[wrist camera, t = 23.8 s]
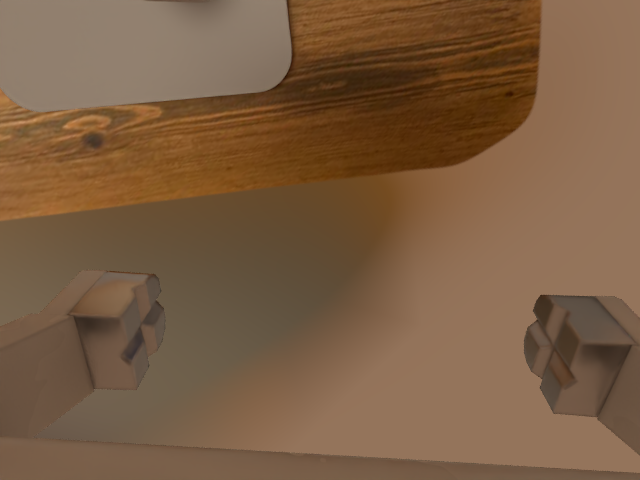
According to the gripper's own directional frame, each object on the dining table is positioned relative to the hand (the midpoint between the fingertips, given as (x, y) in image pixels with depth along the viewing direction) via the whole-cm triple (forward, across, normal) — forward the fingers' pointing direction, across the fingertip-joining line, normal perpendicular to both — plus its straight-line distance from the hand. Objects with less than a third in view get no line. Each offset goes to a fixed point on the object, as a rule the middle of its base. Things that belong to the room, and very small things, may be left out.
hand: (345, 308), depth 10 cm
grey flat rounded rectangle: (+34, +18, -6) cm, 39 cm away
